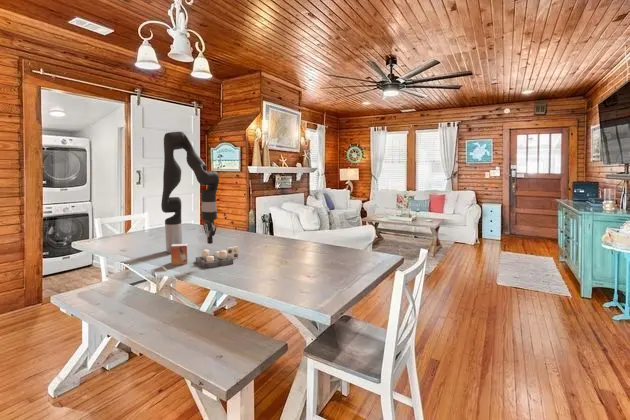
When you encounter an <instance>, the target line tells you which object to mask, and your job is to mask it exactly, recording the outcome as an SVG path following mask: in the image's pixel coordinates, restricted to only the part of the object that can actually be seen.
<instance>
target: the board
mask: <svg viewBox="0 0 630 420" xmlns="http://www.w3.org/2000/svg"><path fill="white" fill-rule="evenodd" d="M209 256H214V262H208V263H207V262H206V259H202V256H197V257H195V263H196V264H198V265H200V266H201V267H203V268H205V269H211V268H216V267H221V266H228V265H232V264H233V265H234V259H232V258H230V257H228V256H227V259H226V260H219V257H216V258H215V254H209Z"/></svg>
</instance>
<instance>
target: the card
mask: <svg viewBox="0 0 630 420" xmlns="http://www.w3.org/2000/svg"><path fill="white" fill-rule="evenodd" d="M239 248H240V247H239V246H231V247H226V249H225V251H227V256H228V257H230V258H232V259H233V260H234V259H240V254H239V253H240V250H239Z"/></svg>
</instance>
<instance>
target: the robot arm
mask: <svg viewBox="0 0 630 420" xmlns="http://www.w3.org/2000/svg"><path fill="white" fill-rule="evenodd" d="M182 149H183V150H184V151H185V152H186V163H187V165H188V166H189V167H190V169H191V170H192V171H193V173H194V174H195V175H194V176H195V177H196V180H197V182H198V184H200V185H201V186H207V188H205V189H203V190H202V191H201V205H200V207H201V220H203V221H204V223H203V231H204V234H205V235H206V236H207V237H206V239H207V244H209V245H210V244H213V241H214V239H213V237H214V236H215V234H216V231H217V227H216V226H215V225H216V224H215V220H218V205H217V191H218V187H219V182H220V176H219V174H218V172H217V171H215V170H207V169H208V166H207V164H206V163H205V162H204V160H202V158H201V157H200V155H199V154H198V153H197V151H196V150H195V148H194V146H193V144H192V143H191V141H190V139H189V137H188V136H187V134H186V133H184V131H171V132H166V133H165V134H164V136H163V153H164V155H163V156H164V157H163V159H164V160H163V162H164V163H163V174H162V175H163V181H162V183H163V185H162V186H163V187H162V194H161V195H162V196H161V211H162V212H163V213H165V214H169V213H172V214H173V213H174V214H173V215H172V216H170V217H167V218H165V220H164V228H165V229H164V231H165V233H164V235H165V250H166V252H165V253H169V254H171V246H172V244H183V231H182V230H183V229H182V199H181V198H180V197H179V196H173V197H172V196H171V194H172V192H173V191H174V190H176V189H177V187H178V186H179V184H180V183H181V180H182V168H181V166H180V165H179V163H178V162H177V161H176V159H175V156H174V153H175V150H182Z"/></svg>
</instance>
